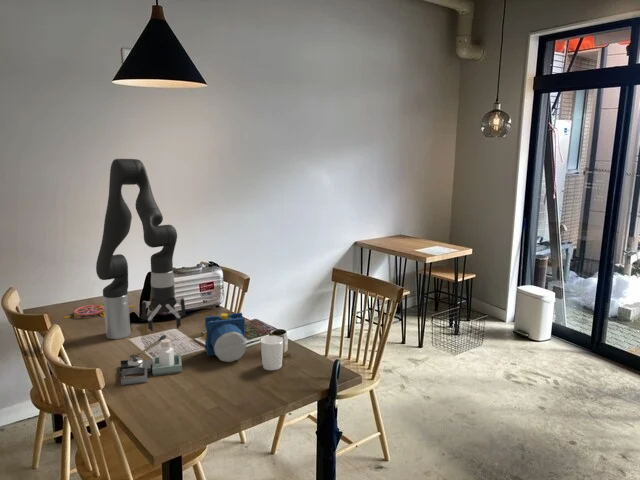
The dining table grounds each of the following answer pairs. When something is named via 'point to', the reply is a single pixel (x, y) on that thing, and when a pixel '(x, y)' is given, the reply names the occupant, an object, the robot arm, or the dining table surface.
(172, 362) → the pepper shaker
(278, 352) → the white cup
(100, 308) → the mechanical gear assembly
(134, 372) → the grey caddy
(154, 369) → the tray
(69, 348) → the dining table surface
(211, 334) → the blue boxy device
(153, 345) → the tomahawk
